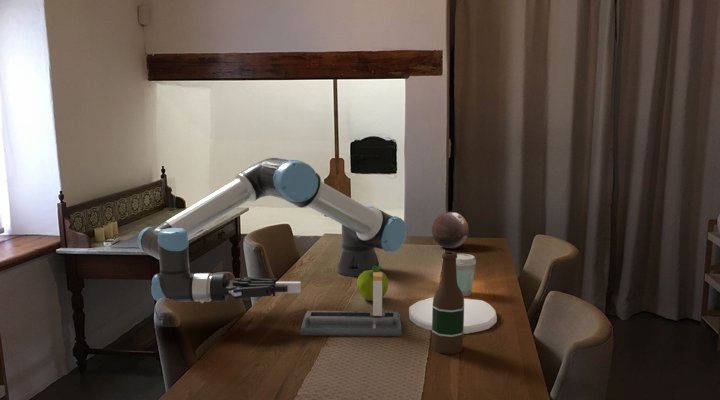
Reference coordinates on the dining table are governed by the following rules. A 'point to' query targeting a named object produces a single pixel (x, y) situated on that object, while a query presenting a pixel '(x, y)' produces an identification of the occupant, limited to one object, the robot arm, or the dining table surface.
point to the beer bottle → (448, 310)
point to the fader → (377, 295)
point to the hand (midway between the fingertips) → (300, 287)
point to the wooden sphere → (450, 230)
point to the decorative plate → (475, 315)
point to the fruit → (370, 283)
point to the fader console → (351, 323)
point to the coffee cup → (465, 272)
